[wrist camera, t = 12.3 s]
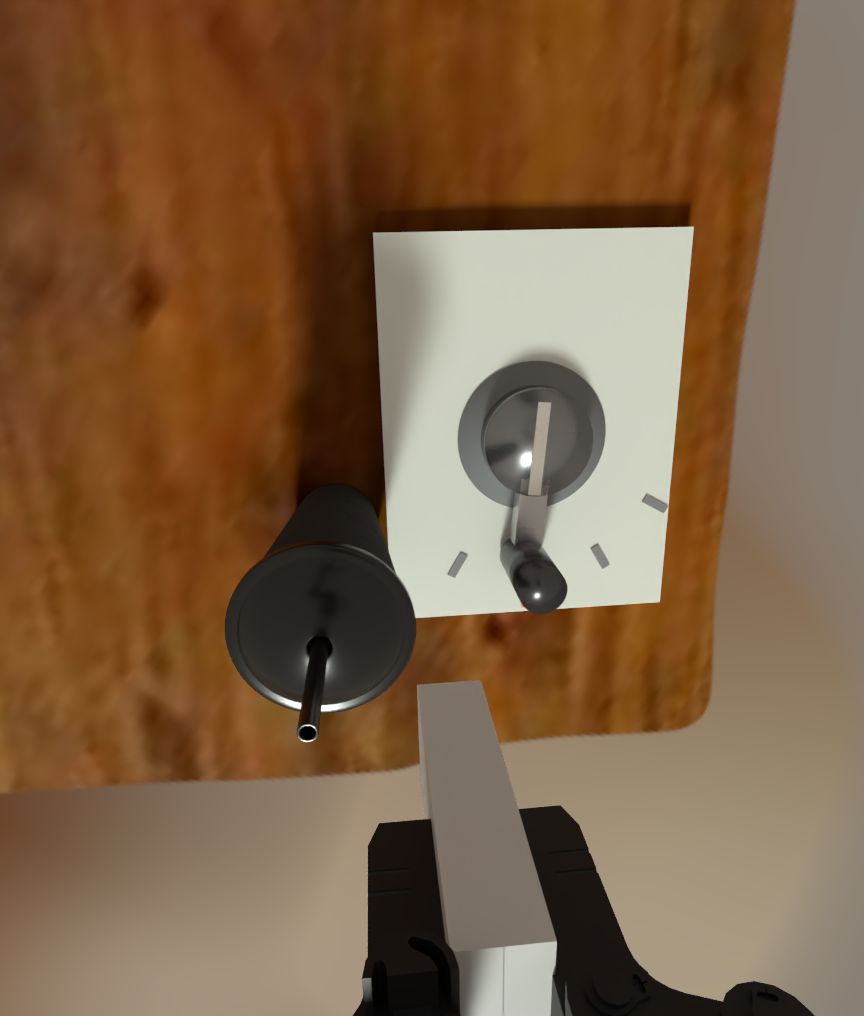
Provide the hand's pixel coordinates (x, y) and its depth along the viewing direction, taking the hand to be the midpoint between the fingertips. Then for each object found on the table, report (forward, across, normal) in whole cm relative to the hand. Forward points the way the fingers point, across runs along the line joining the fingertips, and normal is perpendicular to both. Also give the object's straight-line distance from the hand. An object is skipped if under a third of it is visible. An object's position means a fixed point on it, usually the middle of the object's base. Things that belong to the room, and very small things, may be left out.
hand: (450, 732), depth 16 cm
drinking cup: (+25, -4, -3) cm, 25 cm away
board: (+24, +8, +2) cm, 26 cm away
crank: (+23, +7, -1) cm, 24 cm away
